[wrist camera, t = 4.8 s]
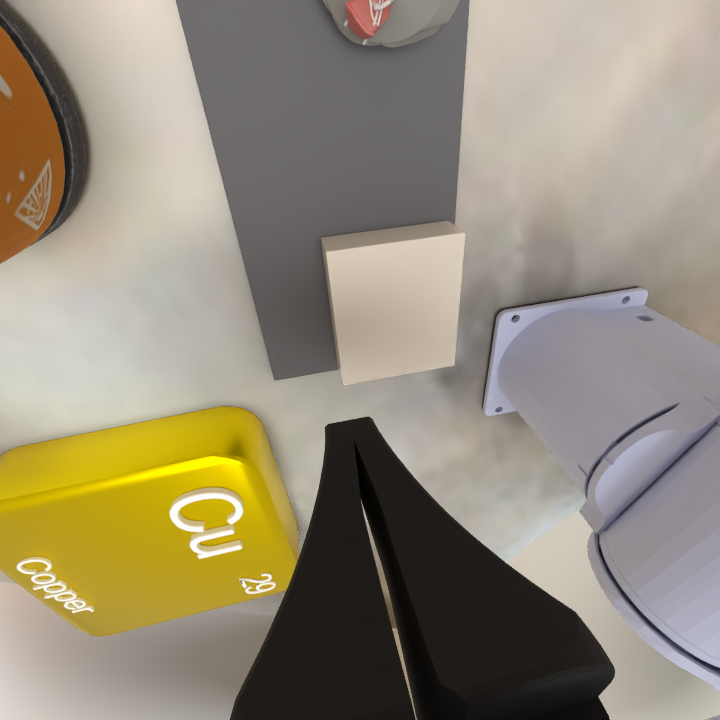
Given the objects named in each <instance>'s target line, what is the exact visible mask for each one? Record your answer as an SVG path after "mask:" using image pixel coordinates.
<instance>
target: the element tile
mask: <svg viewBox="0 0 720 720" xmlns="http://www.w3.org/2000/svg"><path fill="white" fill-rule="evenodd" d="M298 559H299V543H298V528H297V522H296V519H295V516H294V513H293V510H292V507H291V504H290V501H289V498H288V496H287V493H286V490H285V487H284V484H283V481H282V478H281V475H280V472H279V469H278V466H277V464H276V461H275V458H274V455H273V452H272V449H271V446H270V443H269V440H268V437H267V434H266V432H265V429H264V426H263V424H262V423H261V421H260V419H259V418H257V417H256V416H255V415H254V414H253V413H252V412H250V411H248V410H245V409H243V408H238V407H228V406H226V407H216V408H211V409H206V410H201V411H196V412H191V413H186V414H180V415H175V416H170V417H165V418H160V419H155V420H150V421H145V422H140V423H135V424H130V425H125V426H120V427H115V428H110V429H105V430H100V431H95V432H90V433H85V434H80V435H75V436H70V437H65V438H60V439H55V440H50V441H45V442H40V443H35V444H30V445H25V446H20V447H17V448H14V449H11V450H8V451H7V452H5V453H4V454H2V455H1V456H0V570H1V571H2V572H3V573H5V574H6V575H7V576H9V577H10V578H11V579H12V580H14V581H15V582H16V583H18V584H19V585H21V586H22V587H23V588H24V589H26V590H27V591H28V592H30V593H31V594H32V595H34V596H35V597H36V598H37V599H39V600H40V601H41V602H43V603H44V604H45V605H47V606H48V607H49V608H51V609H52V610H54V611H55V612H56V613H57V614H58V615H60V616H61V617H63V618H64V619H65V620H66V621H68V622H69V623H70V624H72V625H73V626H74V627H76V628H77V629H80V630H81V631H83V632H86V633H88V634H90V635H93V636H107V635H112V634H116V633H121V632H124V631H128V630H133V629H137V628H141V627H145V626H149V625H152V624H157V623H161V622H165V621H169V620H172V619H177V618H180V617H184V616H188V615H192V614H196V613H200V612H204V611H208V610H212V609H216V608H220V607H224V606H228V605H232V604H236V603H240V602H244V601H248V600H252V599H256V598H260V597H264V596H268V595H272V594H276V593H280V592H283V591H286V590H287V588H288V585H289V583H290V580H291V578H292V575H293V572H294V570H295V567H296V564H297V561H298Z"/></svg>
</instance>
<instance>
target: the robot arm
mask: <svg viewBox="0 0 720 720" xmlns="http://www.w3.org/2000/svg"><path fill="white" fill-rule="evenodd" d="M647 297H648V291H647V290H646V289H644V288H640V287H639V288H633V289H627V290H621V291H615V292H609V293H603V294H597V295H591V296H585V297H579V298H573V299H567V300H561V301H555V302H549V303H542V304H536V305H530V306H524V307H518V308H512V309H506V310H503V311H501V312H500V313H499V314H498V315H497V318H496V324H495V330H494V337H493V344H492V351H491V357H490V364H489V371H488V377H487V384H486V391H485V397H484V404H483V412H484V413H485V414H486V415H487V416H493V415H498V414H503V413H508V412H513V411H517V412H518V413H519V414H520V416H521V417H522V418H523V419H524V421H525V422H526V423H527V424H528V426H529V427H530V428H531V429H532V431H533V432H534V433H535V434H536V436H537V437H538V438H539V439H540V441H541V442H542V443H543V444H544V446H545V447H546V448H547V450H548V451H549V452H550V453H551V455H552V456H553V457H554V458H555V460H556V461H557V462H558V463H559V465H560V466H561V467H562V468H563V470H564V471H565V472H566V473H567V475H568V476H569V477H570V478H571V480H572V481H573V482H574V483H575V485H576V486H577V487H578V488H579V490H580V491H581V492H582V494H583V495H584V496H585V497H586V499H587V500H586V502H585V504H584V505H583V507H582V508H581V509H580V511H579V512H580V513H581V514H582V516H583V517H584V518H585V520H586V521H587V522H588V524H589V525H590V526H591V528H592V529H593V530H594V531H593V532H592V533H591V535H590V537H589V540H588V556H589V560H590V563H591V566H592V569H593V571H594V573H595V576H596V578H597V580H598V582H599V584H600V586H601V588H602V590H603V591H604V593H605V595H606V597H607V598H608V600H609V601H610V603H611V604H612V606H613V607H614V608H615V610H616V611H617V612H618V613H619V615H620V616H621V617H622V618H623V619H624V621H625V622H626V623H627V624H628V625H629V626H630V627H631V628H632V629H633V630H634V631H635V632H636V633H637V634H638V635H639V636H640V637H641V638H642V639H643V640H644V641H645V642H647V643H648V644H649V645H650V646H651V647H653V648H654V649H655V650H657V651H658V652H659V653H661V654H662V655H663V656H665V657H666V658H668V659H669V660H670V661H672V662H674V663H675V664H676V665H678V666H679V667H681V668H683V669H685V670H687V671H688V672H690V673H692V674H694V675H695V676H697V677H699V678H701V679H703V680H704V681H706V682H708V683H709V684H711V685H712V686H714V687H715V688H717V689H718V690H720V346H718V345H716V344H714V343H713V342H711V341H709V340H707V339H705V338H703V337H702V336H700V335H698V334H696V333H694V332H692V331H691V330H689V329H687V328H685V327H683V326H681V325H680V324H678V323H676V322H674V321H672V320H670V319H669V318H667V317H665V316H663V315H661V314H659V313H658V312H656V311H654V310H652V309H650V308H648V307H647V306H645V302H646V299H647ZM623 298H624V299H623ZM514 315H516V317H515V318H514V319H512V317H513V316H514ZM511 319H512V320H511ZM361 500H362V503H361ZM362 504H363V507H364V510H365V513H366V516H367V520H368V523H369V526H370V529H371V532H372V536H373V539H374V542H375V545H376V548H377V551H378V555H379V558H380V561H381V564H382V567H383V571H384V574H385V578H386V582H387V585H388V590H389V594H390V599H391V603H392V607H393V612H394V616H395V621H396V625H397V630H398V634H399V639H400V643H401V648H402V652H403V657H404V662H405V666H406V671H407V675H408V680H409V685H410V689H411V693H412V698H413V703H414V708H415V713H416V717H417V720H610V719H609V716H608V714H607V712H606V710H605V708H604V707H603V705H602V703H601V701H600V699H599V697H598V696H599V695H600V694H601V693H602V692H603V690H604V689H605V688H606V687H607V686H608V685H609V684H610V683H611V681H612V680H613V678H614V675H615V669H614V666H613V664H612V663H611V661H610V660H609V658H608V656H607V654H606V653H605V651H604V650H603V648H602V646H601V645H600V644H599V642H598V641H597V639H596V638H595V637H594V635H593V634H592V633H591V631H590V630H589V629H588V627H587V626H586V625H585V623H584V622H583V621H582V620H581V618H580V617H579V616H578V615H577V613H576V612H575V611H573V610H572V609H570V608H569V607H567V606H566V605H564V604H563V603H561V602H560V601H558V600H557V599H555V598H554V597H552V596H551V595H549V594H548V593H547V592H545V591H544V590H542V589H541V588H539V587H538V586H536V585H535V584H534V583H532V582H531V581H529V580H528V579H527V578H526V577H524V576H523V575H521V574H520V573H519V572H517V571H516V570H515V569H513V568H512V567H511V566H509V565H508V564H507V563H505V562H504V561H503V560H502V559H501V558H499V557H498V556H497V555H496V554H494V553H493V552H492V551H491V550H489V549H488V548H487V547H486V546H485V545H483V544H482V543H481V542H480V541H478V540H477V539H476V538H475V537H474V536H472V535H471V534H470V533H469V532H468V531H467V530H466V529H465V528H463V527H462V526H461V525H460V524H459V523H458V522H457V521H456V520H455V519H454V518H453V517H452V516H450V515H449V514H448V513H447V512H446V511H445V510H444V509H443V508H442V507H441V506H440V505H439V504H438V503H437V502H436V501H435V500H434V499H433V498H432V497H431V496H430V495H429V493H428V492H427V491H426V490H425V489H424V488H423V487H422V486H421V485H420V484H419V482H418V481H417V480H416V479H415V478H414V477H413V476H412V474H411V473H410V472H409V471H408V470H407V468H406V467H405V466H404V465H403V463H402V462H401V461H400V460H399V458H398V457H397V456H396V454H395V453H394V452H393V451H392V449H391V448H390V446H389V445H388V444H387V442H386V441H385V439H384V438H383V436H382V435H381V433H380V432H379V430H378V428H377V427H376V425H375V423H374V421H373V419H372V418H370V417H363V418H358V419H353V420H347V421H342V422H337V423H332V424H328V425H327V426H326V427H325V452H324V461H323V467H322V473H321V479H320V484H319V489H318V494H317V498H316V502H315V506H314V510H313V514H312V518H311V521H310V525H309V528H308V531H307V535H306V538H305V541H304V544H303V547H302V550H301V553H300V556H299V559H298V561H297V564H296V567H295V570H294V572H293V575H292V578H291V580H290V583H289V585H288V588H287V591H286V593H285V595H284V598H283V600H282V602H281V605H280V607H279V609H278V612H277V614H276V616H275V618H274V621H273V623H272V625H271V628H270V630H269V632H268V634H267V637H266V639H265V641H264V643H263V645H262V647H261V649H260V652H259V653H258V656H257V657H256V659H255V661H254V663H253V665H252V667H251V669H250V671H249V674H248V675H247V677H246V679H245V681H244V684H243V685H242V687H241V690H240V692H239V694H238V695H237V697H236V700H235V703H234V707H233V710H232V714H231V718H230V720H416V719H415V715H414V711H413V706H412V702H411V698H410V695H409V691H408V687H407V684H406V680H405V676H404V673H403V669H402V665H401V661H400V657H399V654H398V650H397V646H396V642H395V638H394V634H393V631H392V627H391V623H390V619H389V615H388V611H387V607H386V603H385V599H384V595H383V592H382V588H381V584H380V580H379V576H378V572H377V568H376V564H375V560H374V555H373V551H372V547H371V543H370V539H369V535H368V531H367V527H366V522H365V518H364V514H363V509H362ZM706 720H720V715H719V716H715V717H712V718H709V719H706Z"/></svg>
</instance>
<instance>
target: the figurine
mask: <svg viewBox="0 0 720 720" xmlns="http://www.w3.org/2000/svg"><path fill="white" fill-rule="evenodd" d="M459 1H460V0H323V2H324V4H325V6H326V8H327V9H328V10H329V11H330V12H331V14H332V17H333V19H334V21H335V23H336V25H337V27H338V28H339V30H340V31H341V32H342V33H343V34H344V35H345V36H346V37H347V38H348V39H350V40H351V41H352V42H354V43H358V44H363V45H370V46H372V45H383V46H387V47H399V46H403V45H407V44H411V43H414V42H417V41H419V40H421V39H424V38H426V37H428V36H430V35H432V34H434V33H436V32H437V30H438V29H439V28H440V26H441V25H442V24H445V23H447V22H448V21H449V20H450V18H451V16H452V15H453V13H454V11H455V10H456V8H457V5H458V3H459Z"/></svg>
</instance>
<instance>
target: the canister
mask: <svg viewBox="0 0 720 720" xmlns="http://www.w3.org/2000/svg"><path fill="white" fill-rule="evenodd" d="M85 167H86V161H85V146H84V140H83V135H82V131H81V126H80V122H79V119H78V116H77V113H76V111H75V108H74V105H73V102H72V100H71V97H70V95H69V93H68V91H67V89H66V87H65V85H64V83H63V81H62V79H61V77H60V75H59V73H58V71H57V69H56V68H55V66H54V65H53V63H52V62H51V60H50V59H49V57H48V56H47V54H46V53H45V51H44V50H43V48H42V47H41V45H40V44H39V42H38V41H37V40H36V39H35V37H34V36H33V35H32V34H31V33H30V31H29V30H28V29H27V28H26V26H25V25H24V24H23V23H22V22H21V20H20V19H19V18H18V17H17V16H16V15H15V14H14V13H13V12H12V11H11V10H10V9H9V8H8V7H7V6H6V5H5V4H4V3H3V2H2V1H1V0H0V264H1V263H2V262H4V261H6V260H7V259H9V258H11V257H12V256H14V255H16V254H17V253H19V252H21V251H22V250H24V249H25V248H27V247H28V246H30V245H32V244H34V243H36V242H37V241H39V240H41V239H42V238H44V237H45V236H47V235H48V234H50V233H51V232H53V231H54V230H56V229H57V228H59V226H60V225H61V224H62V223H63V222H64V221H65V220H66V219H67V218H68V217H69V216H70V214H71V213H72V211H73V209H74V207H75V206H76V204H77V202H78V200H79V197H80V194H81V191H82V188H83V184H84V176H85Z"/></svg>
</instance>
